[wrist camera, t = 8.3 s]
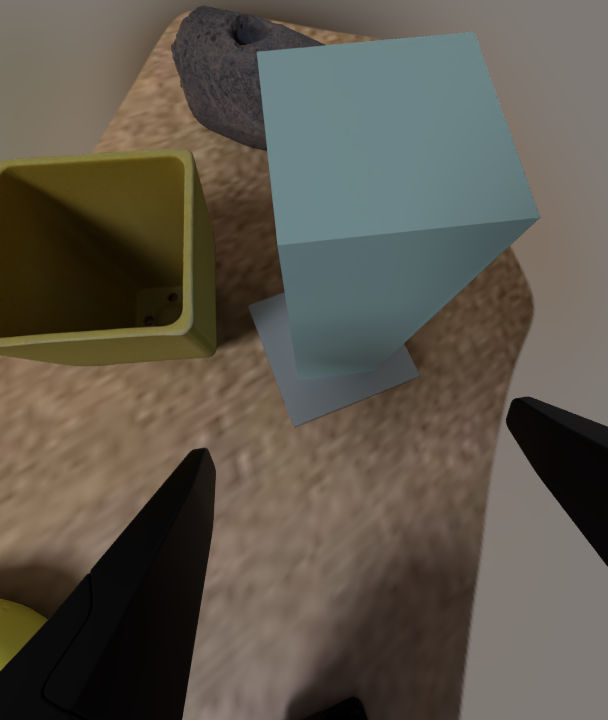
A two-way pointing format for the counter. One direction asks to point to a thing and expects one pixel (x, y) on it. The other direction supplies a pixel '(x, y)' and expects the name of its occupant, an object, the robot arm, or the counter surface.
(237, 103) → the perforated stone tool
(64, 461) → the counter surface
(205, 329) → the flower pot
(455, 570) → the counter surface
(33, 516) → the counter surface
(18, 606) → the lemon
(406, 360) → the tile
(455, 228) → the pillar
